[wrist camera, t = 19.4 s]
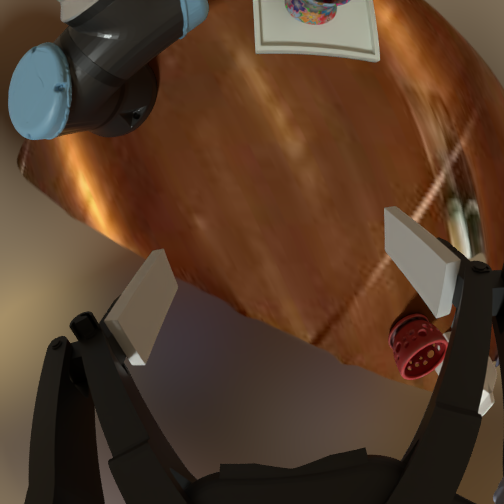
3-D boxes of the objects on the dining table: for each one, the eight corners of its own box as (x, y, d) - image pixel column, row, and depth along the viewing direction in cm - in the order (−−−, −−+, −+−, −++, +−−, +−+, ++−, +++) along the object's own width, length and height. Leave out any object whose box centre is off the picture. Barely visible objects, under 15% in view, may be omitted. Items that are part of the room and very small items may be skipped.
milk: (457, 354, 65) (489, 415, 42) (430, 361, 66) (461, 428, 43) (471, 326, 60) (512, 388, 37) (444, 332, 61) (484, 402, 37)
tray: (255, 53, 36) (255, 50, 34) (251, -36, 27) (250, -41, 25) (375, 62, 35) (380, 60, 33) (362, -26, 26) (366, -30, 24)
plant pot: (394, 354, 64) (408, 387, 53) (377, 328, 59) (393, 365, 48) (434, 327, 60) (453, 358, 49) (422, 298, 55) (445, 331, 44)
